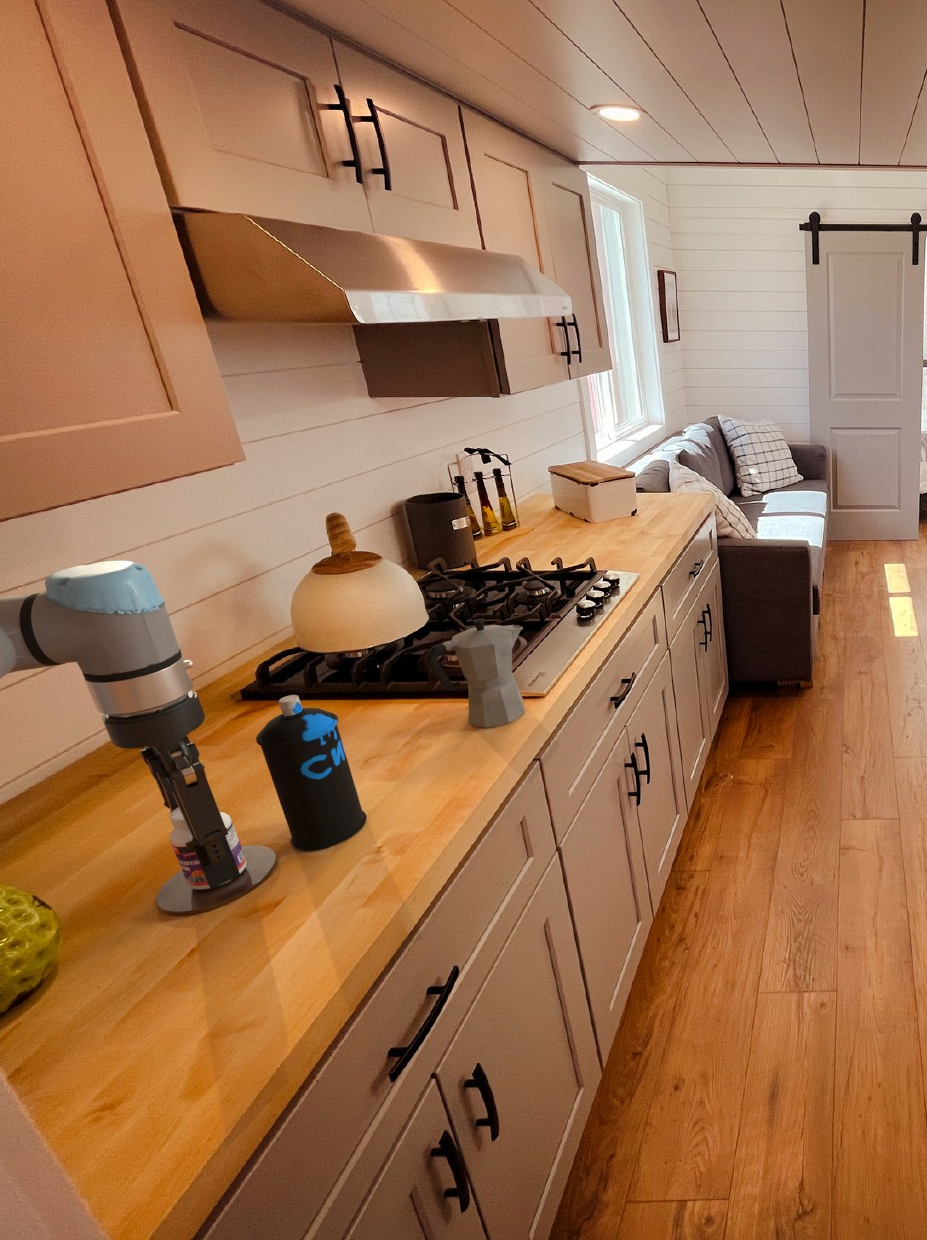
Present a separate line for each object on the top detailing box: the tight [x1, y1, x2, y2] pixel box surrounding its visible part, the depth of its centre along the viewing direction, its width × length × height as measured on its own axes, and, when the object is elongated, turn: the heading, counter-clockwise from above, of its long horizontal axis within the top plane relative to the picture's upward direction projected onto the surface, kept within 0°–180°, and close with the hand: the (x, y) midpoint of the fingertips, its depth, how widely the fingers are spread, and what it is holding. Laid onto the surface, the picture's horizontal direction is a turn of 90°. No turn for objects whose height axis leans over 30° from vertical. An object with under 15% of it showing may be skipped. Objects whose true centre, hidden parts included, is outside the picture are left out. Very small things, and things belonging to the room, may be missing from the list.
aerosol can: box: [255, 694, 368, 851], centre depth 91 cm, size 8×8×20 cm
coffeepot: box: [424, 618, 526, 729], centre depth 118 cm, size 15×9×18 cm, turn 139°
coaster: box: [155, 844, 279, 917], centre depth 85 cm, size 11×11×1 cm
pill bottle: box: [169, 805, 246, 889], centre depth 84 cm, size 5×5×10 cm
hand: (216, 869), depth 85 cm, fingers closed on pill bottle, 5 cm apart
